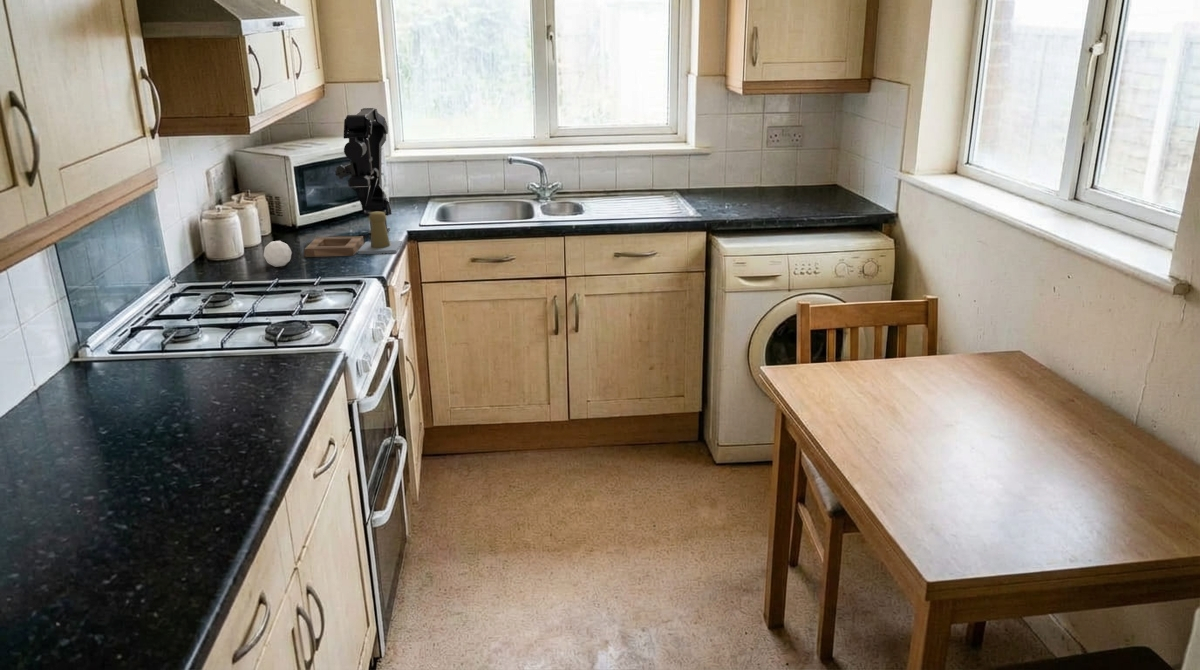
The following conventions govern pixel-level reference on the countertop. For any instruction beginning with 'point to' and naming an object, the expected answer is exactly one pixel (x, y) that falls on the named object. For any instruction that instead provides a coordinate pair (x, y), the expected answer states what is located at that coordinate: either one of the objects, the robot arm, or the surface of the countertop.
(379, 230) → the cork
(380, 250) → the mat
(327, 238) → the pocket frame
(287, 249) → the ball
